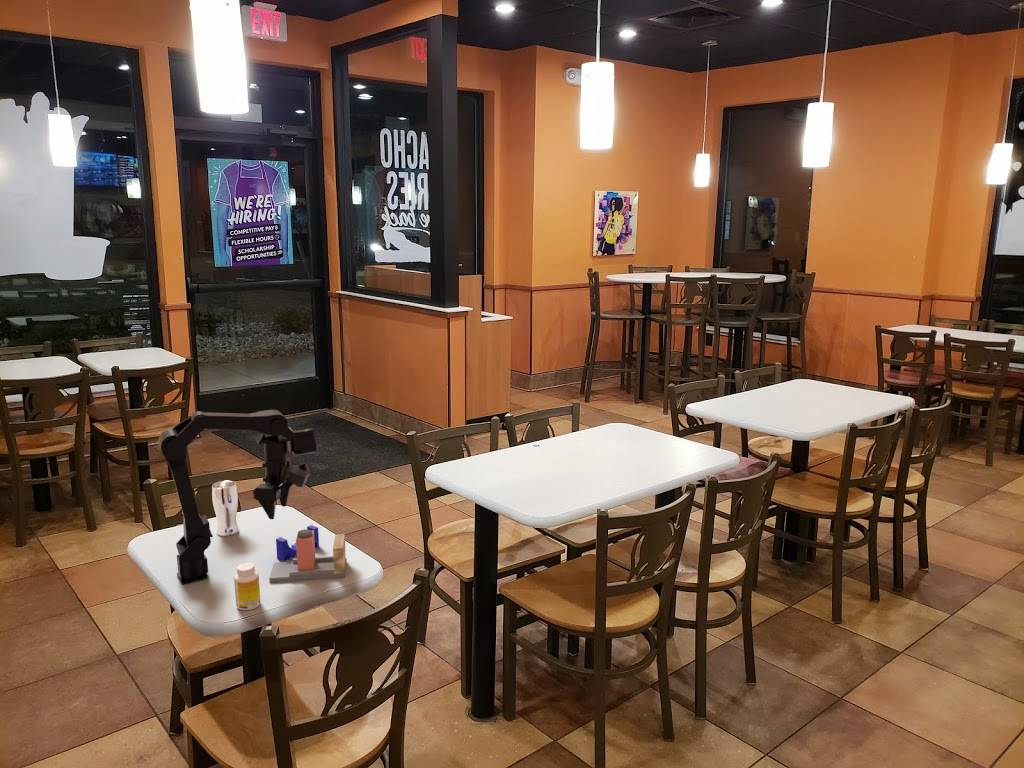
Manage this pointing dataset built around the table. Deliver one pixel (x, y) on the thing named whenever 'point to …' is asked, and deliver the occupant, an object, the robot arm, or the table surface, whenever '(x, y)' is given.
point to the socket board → (291, 573)
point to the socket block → (339, 553)
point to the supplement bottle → (247, 587)
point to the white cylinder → (225, 507)
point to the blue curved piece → (286, 552)
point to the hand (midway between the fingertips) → (278, 512)
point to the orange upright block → (305, 550)
